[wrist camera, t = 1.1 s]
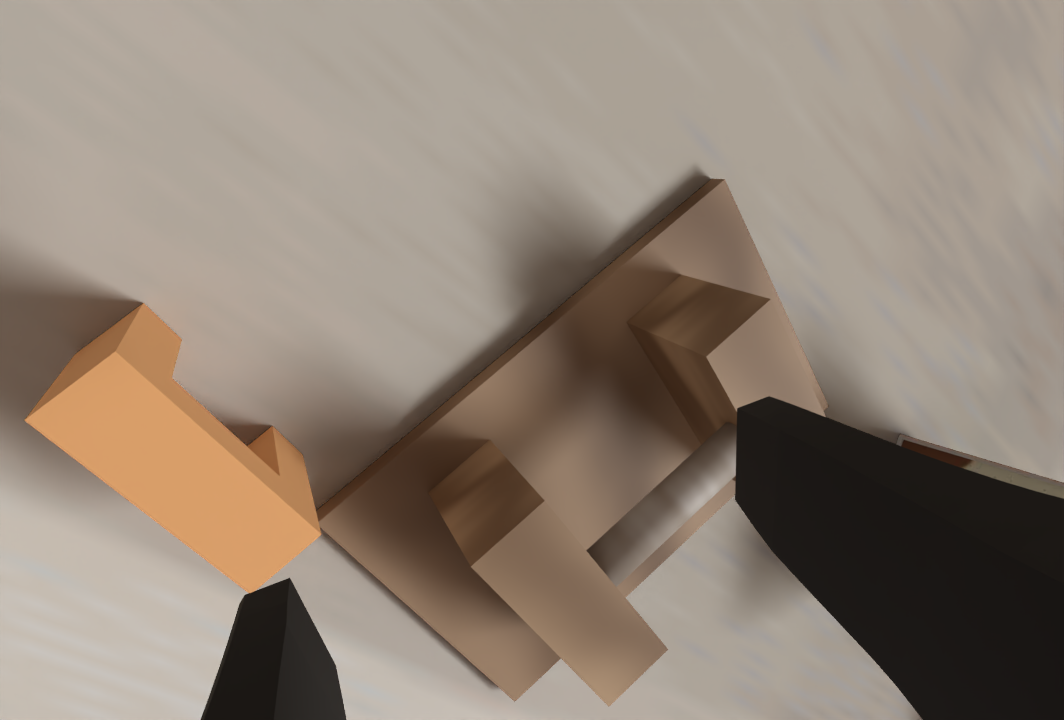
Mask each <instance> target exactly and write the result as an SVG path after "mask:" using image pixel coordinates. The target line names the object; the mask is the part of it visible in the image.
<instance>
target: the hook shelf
mask: <svg viewBox="0 0 1064 720" xmlns="http://www.w3.org/2000/svg"><path fill="white" fill-rule="evenodd" d="M768 396H770V397H773V398H776V399H779V400H782V401H785V402H787V403H790V404H793V405H795V406H798V407H801V408H803V409H806V410H809V411H811V412H814V413H816V414H819V415H821V416H824V417H826V416H825V414H824V412H823V411H824V410H825V409H826V408H828V407H829V406H828V403H827V401H826V399H825V397H824V395H823V392H822V390H821V388H820V386H819V384H818V382H817V379H816V377H815V375H814V373H813V371H812V369H811V366H810V364H809V362H808V360H807V358H806V355H805V353H804V351H803V349H802V347H801V345H800V342H799V340H798V338H797V336H796V334H795V331H794V329H793V327H792V325H791V323H790V321H789V318H788V316H787V314H786V312H785V310H784V308H783V305H782V303H781V301H780V299H779V297H778V294H777V292H776V290H775V288H774V286H773V284H772V281H771V279H770V277H769V275H768V273H767V270H766V268H765V266H764V264H763V262H762V260H761V257H760V255H759V253H758V251H757V249H756V247H755V244H754V242H753V240H752V238H751V236H750V233H749V231H748V229H747V227H746V225H745V223H744V220H743V218H742V216H741V214H740V212H739V209H738V207H737V205H736V203H735V201H734V199H733V196H732V194H731V192H730V190H729V188H728V185H727V183H726V181H725V179H711V180H710V181H708V182H707V183H706V184H705V185H704V186H702V187H701V188H700V189H699V190H698V191H697V192H695V193H694V194H693V195H692V196H691V197H689V198H688V199H687V200H686V201H685V202H683V203H682V204H681V205H680V206H679V207H677V208H676V209H675V210H674V211H673V212H672V213H670V214H669V215H668V216H667V217H666V218H664V219H663V220H662V221H661V222H660V223H658V224H657V225H656V226H655V227H654V228H652V229H651V230H650V231H649V232H648V233H647V234H645V235H644V236H643V237H642V238H641V239H639V240H638V241H637V242H636V243H635V244H633V245H632V246H631V247H630V248H629V249H627V250H626V251H625V252H624V253H623V254H622V255H620V256H619V257H618V258H617V259H616V260H614V261H613V262H612V263H611V264H610V265H608V266H607V267H606V268H605V269H604V270H602V271H601V272H600V273H599V274H598V275H597V276H595V277H594V278H593V279H592V280H591V281H589V282H588V283H587V284H586V285H585V286H583V287H582V288H581V289H580V290H579V291H577V292H576V293H575V294H574V295H573V296H572V297H570V298H569V299H568V300H567V301H566V302H564V303H563V304H562V305H561V306H560V307H558V308H557V309H556V310H555V311H554V312H552V313H551V314H550V315H549V316H548V317H547V318H545V319H544V320H543V321H542V322H541V323H539V324H538V325H537V326H536V327H535V328H533V329H532V330H531V331H530V332H529V333H528V334H526V335H525V336H524V337H523V338H522V339H520V340H519V341H518V342H517V343H516V344H514V345H513V346H512V347H511V348H510V349H508V350H507V351H506V352H505V353H504V354H503V355H501V356H500V357H499V358H498V359H497V360H495V361H494V362H493V363H492V364H491V365H489V366H488V367H487V368H486V369H485V370H483V371H482V372H481V373H480V374H479V375H478V376H476V377H475V378H474V379H473V380H472V381H470V382H469V383H468V384H467V385H466V386H464V387H463V388H462V389H461V390H460V391H458V392H457V393H456V394H455V395H454V396H453V397H451V398H450V399H449V400H448V401H447V402H445V403H444V404H443V405H442V406H441V407H439V408H438V409H437V410H436V411H435V412H433V413H432V414H431V415H430V416H429V417H428V418H426V419H425V420H424V421H423V422H422V423H420V424H419V425H418V426H417V427H416V428H414V429H413V430H412V431H411V432H410V433H408V434H407V435H406V436H405V437H404V438H403V439H401V440H400V441H399V442H398V443H397V444H395V445H394V446H393V447H392V448H391V449H389V450H388V451H387V452H386V453H385V454H383V455H382V456H381V457H380V458H379V459H378V460H376V461H375V462H374V463H373V464H372V465H370V466H369V467H368V468H367V469H366V470H364V471H363V472H362V473H361V474H360V475H358V476H357V477H356V478H355V479H354V480H353V481H351V482H350V483H349V484H348V485H347V486H345V487H344V488H343V489H342V490H341V491H339V492H338V493H337V494H336V495H335V496H333V497H332V498H331V499H330V500H329V501H328V502H326V503H325V504H324V505H323V506H322V507H320V508H319V509H318V510H317V511H316V513H317V518H318V522H319V526H320V528H321V529H322V530H324V531H325V532H326V533H327V534H328V535H329V536H330V537H331V538H333V539H334V540H335V541H336V542H337V543H338V544H339V545H340V546H341V547H343V548H344V549H345V550H346V551H347V552H348V553H349V554H350V555H352V556H353V557H354V558H355V559H356V560H357V561H358V562H359V563H360V564H362V565H363V566H364V567H365V568H366V569H367V570H368V571H369V572H371V573H372V574H373V575H374V576H375V577H376V578H377V579H378V580H379V581H381V582H382V583H383V584H384V585H385V586H386V587H387V588H388V589H390V590H391V591H392V592H393V593H394V594H395V595H396V596H397V597H398V598H400V599H401V600H402V601H403V602H404V603H405V604H406V605H407V606H409V607H410V608H411V609H412V610H413V611H414V612H415V613H416V614H417V615H419V616H420V617H421V618H422V619H423V620H424V621H425V622H426V623H428V624H429V625H430V626H431V627H432V628H433V629H434V630H435V631H436V632H438V633H439V634H440V635H441V636H442V637H443V638H444V639H445V640H447V641H448V642H449V643H450V644H451V645H452V646H453V647H454V648H455V649H457V650H458V651H459V652H460V653H461V654H462V655H463V656H464V657H466V658H467V659H468V660H469V661H470V662H471V663H472V664H473V665H474V666H476V667H477V668H478V669H479V670H480V671H481V672H482V673H483V674H484V675H486V676H487V677H488V678H489V679H490V680H491V681H492V682H493V683H495V684H496V685H497V686H498V687H499V688H500V689H501V690H502V691H503V692H505V693H506V694H507V695H508V696H509V697H510V698H511V699H512V700H514V701H516V700H517V699H518V698H519V697H520V696H521V695H522V694H523V693H525V692H526V691H527V690H528V689H529V688H530V687H531V686H532V685H533V684H534V683H535V682H536V681H537V680H538V679H539V678H540V677H542V676H543V675H544V674H545V673H546V672H547V671H548V670H549V669H550V668H551V667H552V666H553V665H554V664H555V663H556V662H557V661H559V660H560V659H562V660H563V661H564V662H565V663H566V664H567V665H568V666H569V667H570V668H571V669H572V670H573V671H574V672H575V673H576V674H577V675H578V676H579V677H580V678H581V679H582V680H583V681H584V682H585V683H586V684H587V685H588V686H589V687H590V688H591V689H592V690H593V691H594V692H595V693H596V694H597V695H598V696H599V697H600V698H601V699H602V700H603V701H604V702H605V703H606V704H607V705H608V706H610V705H611V704H612V703H613V702H614V701H615V700H616V699H617V698H618V697H619V696H620V695H622V694H623V693H624V692H625V691H626V690H627V689H628V688H629V687H630V686H631V685H632V684H633V683H634V682H635V681H636V680H637V679H638V678H639V677H640V676H641V675H642V674H643V673H644V672H645V671H646V670H647V669H648V668H649V667H650V666H651V665H653V664H654V663H655V662H656V661H657V660H658V659H659V658H660V657H661V656H662V655H663V654H664V653H665V652H666V651H667V650H668V649H667V647H666V646H665V645H664V644H663V643H662V641H661V640H660V639H659V638H658V637H657V635H656V634H655V633H654V632H653V631H652V629H651V628H650V627H649V626H648V625H647V623H646V622H645V621H644V620H643V619H642V617H641V616H640V615H639V614H638V612H637V611H636V610H635V609H634V608H633V606H632V605H631V604H630V603H629V602H628V600H627V599H626V597H627V596H628V595H629V594H630V593H631V592H632V591H633V590H634V589H635V588H636V587H637V586H638V585H639V584H640V583H641V582H643V581H644V580H645V579H646V578H647V577H648V576H649V575H650V574H651V573H652V572H653V571H654V570H655V569H656V568H657V567H658V566H660V565H661V564H662V563H663V562H664V561H665V560H666V559H667V558H668V557H669V556H670V555H671V554H672V553H673V552H674V551H675V550H677V549H678V548H679V547H680V546H681V545H682V544H683V543H684V542H685V541H686V540H687V539H688V538H689V537H690V536H691V535H693V534H694V533H695V532H696V531H697V530H698V529H699V528H700V527H701V526H702V525H703V524H704V523H705V522H706V521H707V520H708V519H710V518H711V517H712V516H713V515H714V514H715V513H716V512H717V511H718V510H719V509H720V508H721V507H722V506H723V505H724V504H725V503H727V502H728V501H729V500H730V499H731V498H732V497H733V496H734V495H735V482H736V435H737V408H739V407H742V406H744V405H747V404H750V403H752V402H755V401H757V400H760V399H763V398H765V397H768Z"/></svg>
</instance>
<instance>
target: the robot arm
mask: <svg viewBox="0 0 1064 720" xmlns="http://www.w3.org/2000/svg"><path fill="white" fill-rule="evenodd" d="M735 500H736V502H737V503H738V504H739V506H740V507H741V509H742V510H743V512H744V513H745V514H746V516H747V517H748V519H749V520H750V522H751V523H752V524H753V526H754V527H755V529H756V530H757V531H758V533H759V534H760V535H761V537H762V538H763V539H764V541H765V542H766V543H767V545H768V546H769V547H770V549H771V550H772V551H773V552H774V553H775V555H776V556H777V557H778V558H779V559H780V560H781V561H782V562H783V563H784V564H785V566H786V567H787V568H788V569H789V570H790V571H791V572H792V573H793V574H794V575H795V576H796V577H797V579H798V580H799V581H800V582H801V583H802V584H803V585H804V586H805V587H806V588H807V589H808V590H809V591H810V593H811V594H812V595H813V596H814V597H815V598H816V599H817V600H818V601H819V602H820V603H821V604H822V605H823V606H824V607H825V608H826V610H827V611H828V612H829V613H830V614H831V615H832V616H833V617H834V618H835V619H836V620H837V621H838V622H839V623H840V624H841V626H842V627H843V628H844V629H845V630H846V631H847V632H848V633H849V634H850V635H851V636H852V637H853V638H854V639H855V640H856V641H857V643H858V644H859V645H860V646H861V647H862V648H863V649H864V650H865V651H866V652H867V653H868V654H869V655H870V656H871V657H872V658H873V660H874V661H875V662H876V663H877V664H878V665H879V666H880V668H881V669H882V670H883V671H884V672H885V673H886V674H887V676H888V677H889V678H890V679H891V680H892V681H893V682H894V684H895V685H896V686H897V687H898V688H899V690H900V691H901V692H902V693H903V695H904V696H905V697H906V699H907V700H908V701H909V702H910V704H911V705H912V706H913V708H914V709H915V710H916V711H917V713H918V714H919V715H920V716H921V718H922V719H923V720H1064V499H1063V498H1060V497H1056V496H1052V495H1049V494H1045V493H1041V492H1037V491H1034V490H1030V489H1027V488H1024V487H1020V486H1017V485H1013V484H1010V483H1007V482H1004V481H1000V480H997V479H994V478H991V477H988V476H985V475H982V474H979V473H976V472H973V471H970V470H967V469H964V468H961V467H958V466H955V465H952V464H949V463H946V462H943V461H940V460H937V459H935V458H932V457H929V456H926V455H923V454H921V453H918V452H915V451H912V450H910V449H907V448H904V447H902V446H899V445H896V444H894V443H891V442H888V441H886V440H883V439H880V438H878V437H875V436H873V435H870V434H867V433H865V432H862V431H860V430H857V429H855V428H852V427H849V426H847V425H844V424H842V423H839V422H837V421H834V420H832V419H829V418H827V417H824V416H821V415H819V414H816V413H814V412H811V411H809V410H806V409H803V408H801V407H798V406H795V405H793V404H790V403H787V402H785V401H782V400H779V399H776V398H773V397H770V396H768V397H765V398H763V399H760V400H757V401H755V402H752V403H750V404H747V405H744V406H742V407H739V408H737V435H736V482H735ZM201 720H346V715H345V710H344V704H343V699H342V694H341V689H340V684H339V679H338V674H337V669H336V665H335V663H334V661H333V659H332V657H331V655H330V654H329V652H328V650H327V648H326V646H325V644H324V642H323V640H322V638H321V636H320V634H319V633H318V631H317V629H316V627H315V625H314V623H313V621H312V619H311V617H310V615H309V614H308V612H307V610H306V608H305V606H304V604H303V602H302V600H301V598H300V596H299V594H298V593H297V591H296V589H295V587H294V585H293V583H292V581H291V579H290V578H288V579H286V580H283V581H281V582H278V583H275V584H273V585H270V586H267V587H265V588H262V589H259V590H257V591H254V592H252V593H249V594H246V595H245V596H244V597H243V599H242V601H241V602H240V604H239V607H238V611H237V614H236V617H235V621H234V624H233V627H232V630H231V633H230V637H229V640H228V643H227V646H226V649H225V652H224V655H223V658H222V661H221V664H220V667H219V670H218V673H217V676H216V679H215V681H214V684H213V687H212V690H211V693H210V696H209V699H208V701H207V704H206V707H205V709H204V712H203V715H202V717H201Z"/></svg>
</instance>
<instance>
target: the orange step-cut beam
mask: <svg viewBox="0 0 1064 720" xmlns="http://www.w3.org/2000/svg"><path fill="white" fill-rule="evenodd" d="M181 341H182V339H181V338H180V337H179V336H178V335H177V334H176V333H175V332H173V331H172V330H171V329H170V328H169V327H168V326H167V325H166V324H165V323H164V322H163V321H162V320H161V319H160V318H159V317H158V316H157V315H156V314H155V313H154V312H152V311H151V310H150V309H149V308H148V307H147V306H146V305H145V304H144V303H143V304H141V305H140V306H139V307H137V308H136V309H135V310H133V311H132V312H131V313H129V314H128V315H127V316H125V317H124V318H123V319H121V320H120V321H119V322H117V323H116V324H115V325H113V326H112V327H111V328H109V329H108V330H107V331H105V332H104V333H103V334H101V335H100V336H99V337H97V338H96V339H95V340H93V341H92V342H91V343H89V344H88V345H87V346H85V347H84V348H83V349H81V350H80V351H79V352H77V353H76V354H75V355H74V356H73V358H72V359H71V360H70V362H69V363H68V364H67V365H66V367H65V368H64V369H63V371H62V372H61V373H60V375H59V376H58V377H57V378H56V380H55V381H54V382H53V384H52V385H51V386H50V387H49V389H48V390H47V391H46V393H45V394H44V395H43V397H42V398H41V399H40V400H39V402H38V403H37V404H36V406H35V407H34V408H33V410H32V411H31V412H30V413H29V415H28V416H27V417H26V419H25V420H24V421H26V422H27V423H28V424H30V425H31V426H32V427H33V428H35V429H36V430H37V431H39V432H40V433H41V434H43V435H44V436H45V437H46V438H48V439H49V440H50V441H52V442H53V443H54V444H56V445H57V446H58V447H59V448H61V449H62V450H63V451H65V452H66V453H67V454H69V455H70V456H71V457H72V458H74V459H75V460H76V461H78V462H79V463H80V464H82V465H83V466H84V467H85V468H87V469H88V470H89V471H91V472H92V473H93V474H95V475H96V476H97V477H98V478H100V479H101V480H102V481H104V482H105V483H106V484H108V485H109V486H110V487H111V488H113V489H114V490H115V491H117V492H118V493H119V494H121V495H122V496H123V497H124V498H126V499H127V500H128V501H130V502H131V503H132V504H134V505H135V506H136V507H137V508H139V509H140V510H141V511H143V512H144V513H145V514H147V515H148V516H149V517H150V518H152V519H153V520H154V521H156V522H157V523H158V524H160V525H161V526H162V527H163V528H165V529H166V530H167V531H169V532H170V533H171V534H173V535H174V536H175V537H177V538H178V539H179V540H180V541H182V542H183V543H184V544H186V545H187V546H188V547H190V548H191V549H192V550H193V551H195V552H196V553H197V554H199V555H200V556H201V557H203V558H204V559H205V560H206V561H208V562H209V563H210V564H212V565H213V566H214V567H216V568H217V569H218V570H219V571H221V572H222V573H223V574H225V575H226V576H227V577H229V578H230V579H231V580H232V581H234V582H235V583H236V584H238V585H239V586H240V587H242V588H243V589H244V590H245V591H247V592H248V593H252V592H254V591H255V590H257V589H258V588H259V587H260V586H261V585H263V584H264V583H265V582H266V581H267V580H268V579H270V578H271V577H272V576H273V575H274V574H276V573H277V572H278V571H279V570H280V569H281V568H283V567H284V566H285V565H286V564H287V563H288V562H290V561H291V560H292V559H293V558H294V557H296V556H297V555H298V554H299V553H300V552H301V551H303V550H304V549H305V548H306V547H307V546H309V545H310V544H311V543H312V542H313V541H314V540H316V539H317V538H318V537H319V536H320V535H321V530H320V526H319V522H318V518H317V513H316V509H315V505H314V501H313V496H312V492H311V488H310V484H309V479H308V475H307V471H306V467H305V463H304V458H303V455H302V454H301V453H300V452H299V451H298V450H297V449H296V448H295V447H294V446H293V445H292V444H291V443H290V442H289V441H288V440H287V439H286V438H285V437H284V436H283V435H281V434H280V433H279V432H278V431H277V430H276V429H275V428H274V427H273V426H272V427H270V428H269V429H268V430H267V431H265V432H264V433H263V434H262V435H260V436H259V437H258V438H257V439H256V440H254V441H253V442H252V443H251V444H249V445H248V446H246V445H245V444H244V443H243V442H241V441H240V440H239V439H238V438H237V437H236V436H235V435H234V434H233V433H232V432H230V431H229V430H228V429H227V428H226V427H225V426H224V425H223V424H222V423H221V422H219V421H218V420H217V419H216V418H215V417H214V416H213V415H212V414H211V413H210V412H208V411H207V410H206V409H205V408H204V407H203V406H202V405H201V404H200V403H199V402H197V401H196V400H195V399H194V398H193V397H192V396H191V395H190V394H189V393H188V392H186V391H185V390H184V389H183V388H182V387H181V386H180V385H179V384H178V383H177V382H175V381H174V380H173V379H172V375H173V371H174V367H175V363H176V360H177V356H178V352H179V348H180V344H181Z"/></svg>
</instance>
